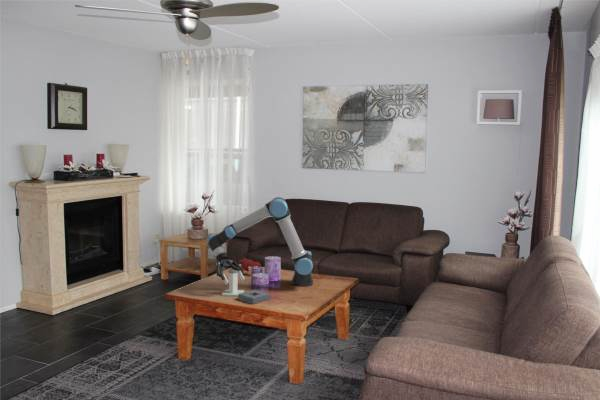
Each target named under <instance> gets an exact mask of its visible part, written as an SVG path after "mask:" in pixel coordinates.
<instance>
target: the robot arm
mask: <svg viewBox="0 0 600 400" xmlns="http://www.w3.org/2000/svg"><path fill="white" fill-rule="evenodd" d="M291 215H292V213H291V211H290V209H289V207H288V202H287V201H286V199H284V198H283V197H279V196H278V197H274V198H273V199H272V200H270V201H269V202H267V203H265V204H264V206H263V207H261V208H259V209H257V210H255V211H253V212H251V213H250V214H247V215H246V216H245V217H242V218H240V219H238V220H236V221H234V222H232V223H231V224H230V225H227V226H225V227H224V228H223V229H222V231H220V232H219V233H218V234H216V233H212V234H209V235H208V236H207V237H206V239H205V241H206V243H207V246H208V247H209V249H210V250H211V252H212V254H213V256H214V257H215V259H216V262H215V267H216V276H217V277H219V278H221V280H222V281H223V282H224V284H225V286H228V285H229V279H228V278H227V277H226V275H225V273H224V270H225V268H230V269H231V270H237V271H238V278H240V280H241V282H243V281H245V277H244V274H243V273H244V272H243V273H242V272H241V270H242V269H243V268H242V267H241V265H239V264H238V262H236V261H235V259H233V258H231V259H229V256H228V254H227V252H226V250H225V249H224V246H223V245H224V244H226V243H228V241H230V240H232V239H233V238H235V236H237V234H238V233H241V232H243V231H244V230H246V229H248V228H250V227H252V226H254V225H256V224H257V223H260V222H261V221H263V220H265V219H267V218H269V217H271V218H272V217H273V218H272V219H273V221H274V222H275V223H277V224H278V226H279V228H280V230H281V233H282V235H283V238H284V240H285V241H286V243H287V246H288V248H289V251H290V253H291V261H292V263H293V265H294V270H293V271H294V273H293V276H292V277H291V278H292V279H291V285H293V286H298V287H308V286H313V285H314V279H313V276H312V275H313V274H312V270H313V267H314V264H313V261H312V252H311V251H309V250H305V248H304V247H303V244H302V241H301V240H300V237H299V236H298V232H297V231H296V228H295V226H294V222H292V220H291V219H292V218H291Z"/></svg>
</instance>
